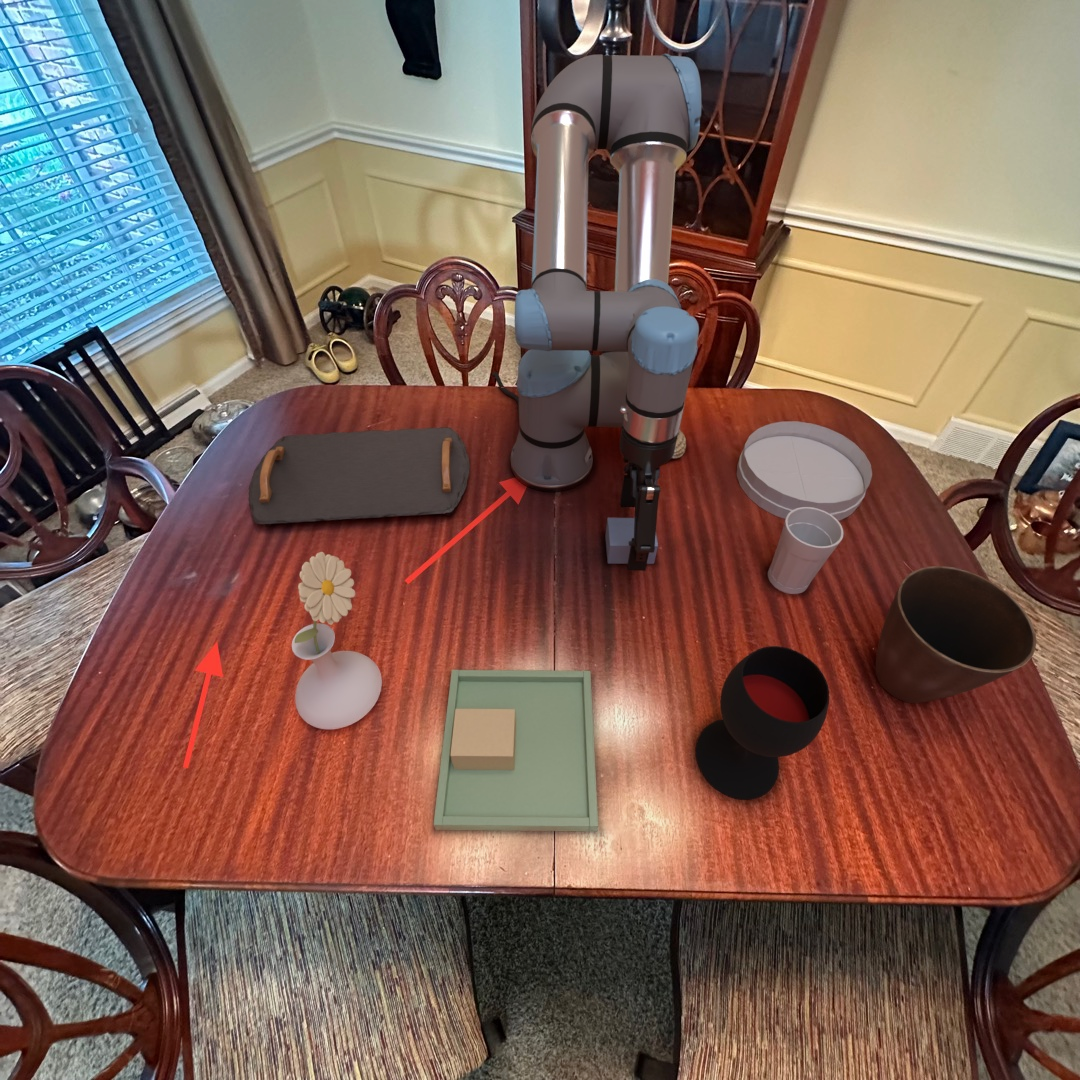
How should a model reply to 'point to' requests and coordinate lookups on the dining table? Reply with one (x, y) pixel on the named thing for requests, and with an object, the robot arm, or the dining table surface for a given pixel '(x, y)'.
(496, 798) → the frame
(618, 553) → the blue pad
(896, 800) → the dining table surface
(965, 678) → the flower pot
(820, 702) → the wine glass
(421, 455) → the serving tray
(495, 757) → the tan pad
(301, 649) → the flower in vase
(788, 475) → the dish
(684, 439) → the seashell
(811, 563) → the cup
